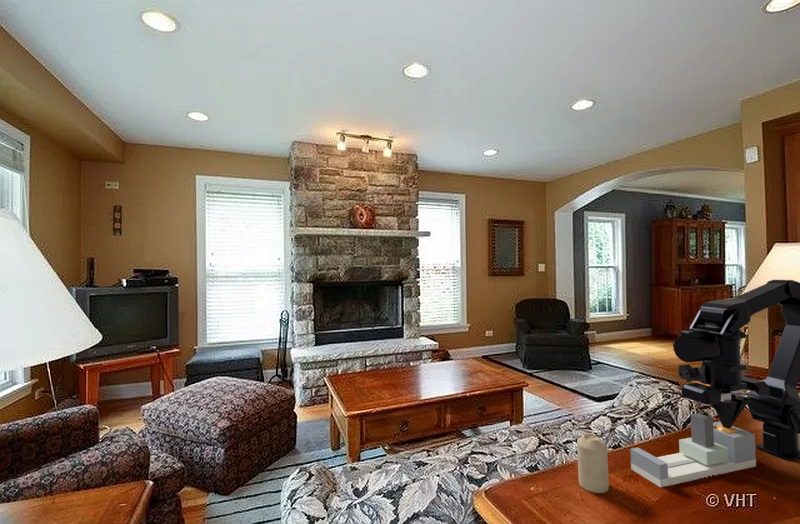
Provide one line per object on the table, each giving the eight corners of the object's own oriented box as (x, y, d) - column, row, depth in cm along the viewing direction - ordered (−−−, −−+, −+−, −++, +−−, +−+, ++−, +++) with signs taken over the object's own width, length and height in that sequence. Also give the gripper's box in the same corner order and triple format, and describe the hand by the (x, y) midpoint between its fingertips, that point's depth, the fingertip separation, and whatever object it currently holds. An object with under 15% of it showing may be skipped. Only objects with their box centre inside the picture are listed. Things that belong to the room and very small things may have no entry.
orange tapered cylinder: (725, 447, 86) (724, 423, 86) (741, 454, 83) (740, 429, 83) (713, 449, 85) (712, 425, 85) (730, 457, 82) (729, 431, 82)
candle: (613, 494, 73) (610, 443, 73) (582, 492, 74) (580, 442, 74) (603, 479, 79) (601, 431, 79) (575, 476, 80) (573, 430, 80)
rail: (721, 451, 88) (720, 421, 88) (756, 466, 81) (754, 433, 81) (631, 469, 82) (629, 437, 82) (660, 487, 75) (658, 452, 75)
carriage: (700, 448, 86) (698, 409, 86) (728, 461, 80) (726, 419, 80) (679, 452, 84) (677, 413, 84) (707, 465, 79) (705, 423, 79)
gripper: (716, 347, 94) (719, 409, 94) (657, 354, 90) (660, 419, 90) (770, 357, 83) (773, 427, 83) (705, 366, 79) (709, 440, 79)
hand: (726, 427), depth 84 cm, fingers closed, pressing on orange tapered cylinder
